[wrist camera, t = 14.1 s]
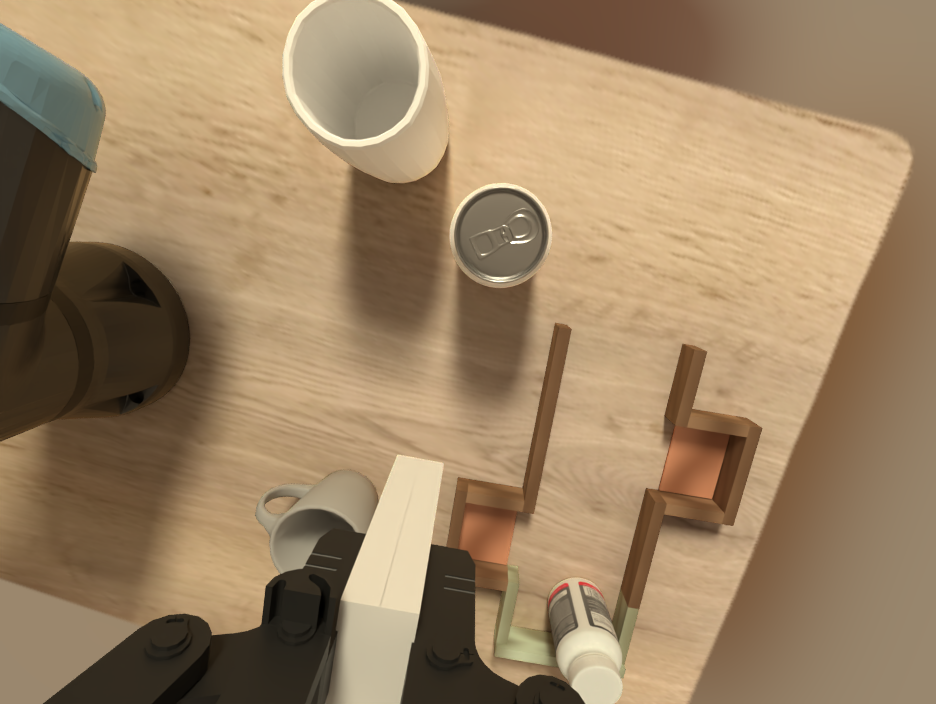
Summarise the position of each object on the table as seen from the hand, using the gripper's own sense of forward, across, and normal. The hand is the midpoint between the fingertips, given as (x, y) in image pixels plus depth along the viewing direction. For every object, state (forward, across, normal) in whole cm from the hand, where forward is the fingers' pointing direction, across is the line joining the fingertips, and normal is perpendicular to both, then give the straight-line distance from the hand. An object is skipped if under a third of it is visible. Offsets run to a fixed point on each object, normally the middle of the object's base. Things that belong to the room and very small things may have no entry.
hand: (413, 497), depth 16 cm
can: (+28, +2, +9) cm, 29 cm away
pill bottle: (+27, +16, -23) cm, 39 cm away
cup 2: (+28, -8, -16) cm, 33 cm away
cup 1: (+28, -7, +16) cm, 33 cm away
